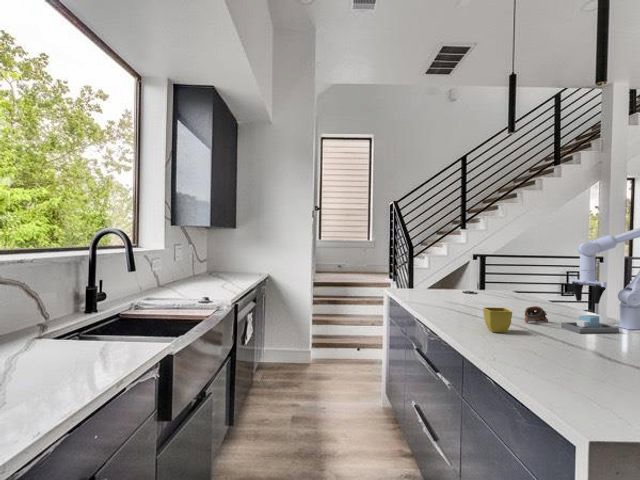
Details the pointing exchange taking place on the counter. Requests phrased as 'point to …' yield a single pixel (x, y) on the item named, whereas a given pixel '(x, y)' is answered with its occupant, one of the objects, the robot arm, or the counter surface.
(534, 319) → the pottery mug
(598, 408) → the counter surface
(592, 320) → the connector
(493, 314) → the flower pot
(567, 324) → the tray
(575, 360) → the counter surface
